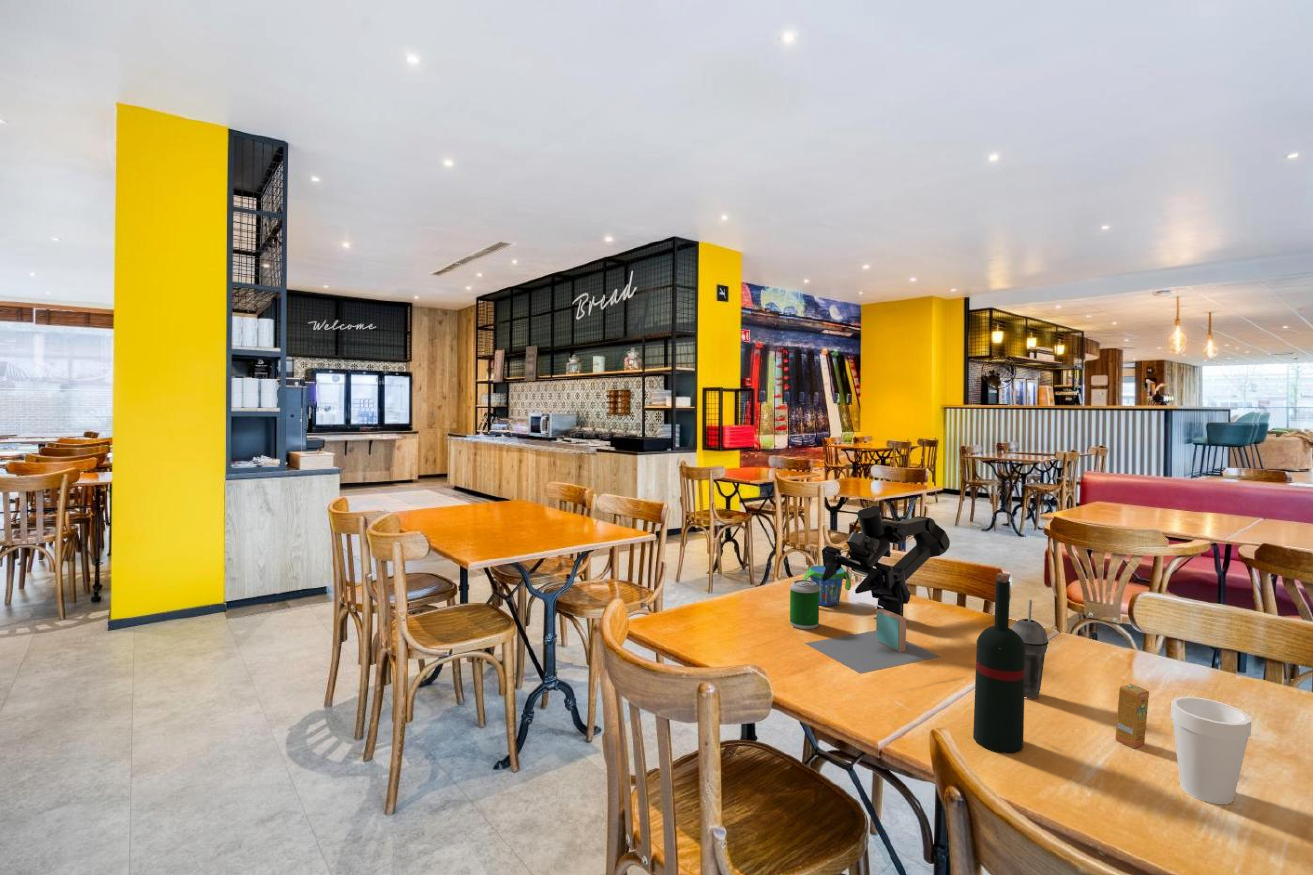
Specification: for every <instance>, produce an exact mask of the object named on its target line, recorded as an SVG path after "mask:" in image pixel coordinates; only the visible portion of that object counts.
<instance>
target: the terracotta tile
mask: <svg viewBox="0 0 1313 875" xmlns="http://www.w3.org/2000/svg"><path fill="white" fill-rule="evenodd" d="M876 617H877V618H875V622H876V625H875V626H876V627H875V628H876V630H875V631H876V641H877V642H879V643H881V644H883V645H885V646H888V647H890V648H892V649H894V650H896V651H898V652H903V651H906V641H907V622H906V621H907V617H905V616H904V615H903V616H900V615H898V614H895V613H893V612H890V611H888V610H885V609H877V608H876Z"/></svg>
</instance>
